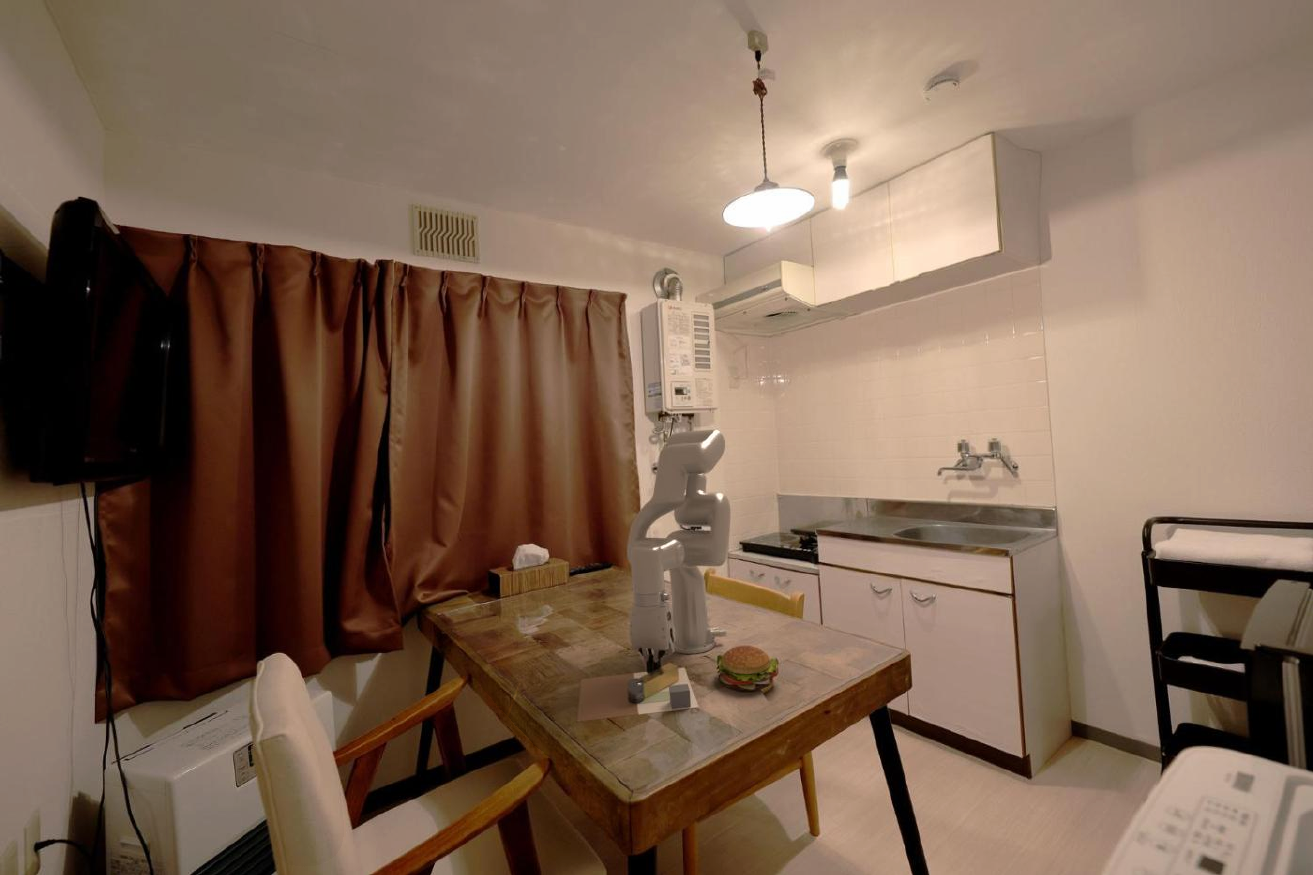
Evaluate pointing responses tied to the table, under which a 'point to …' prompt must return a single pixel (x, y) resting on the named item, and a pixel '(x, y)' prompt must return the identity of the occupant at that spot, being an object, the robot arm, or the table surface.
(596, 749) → the table surface
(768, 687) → the food
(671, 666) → the bar
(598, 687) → the door panel
